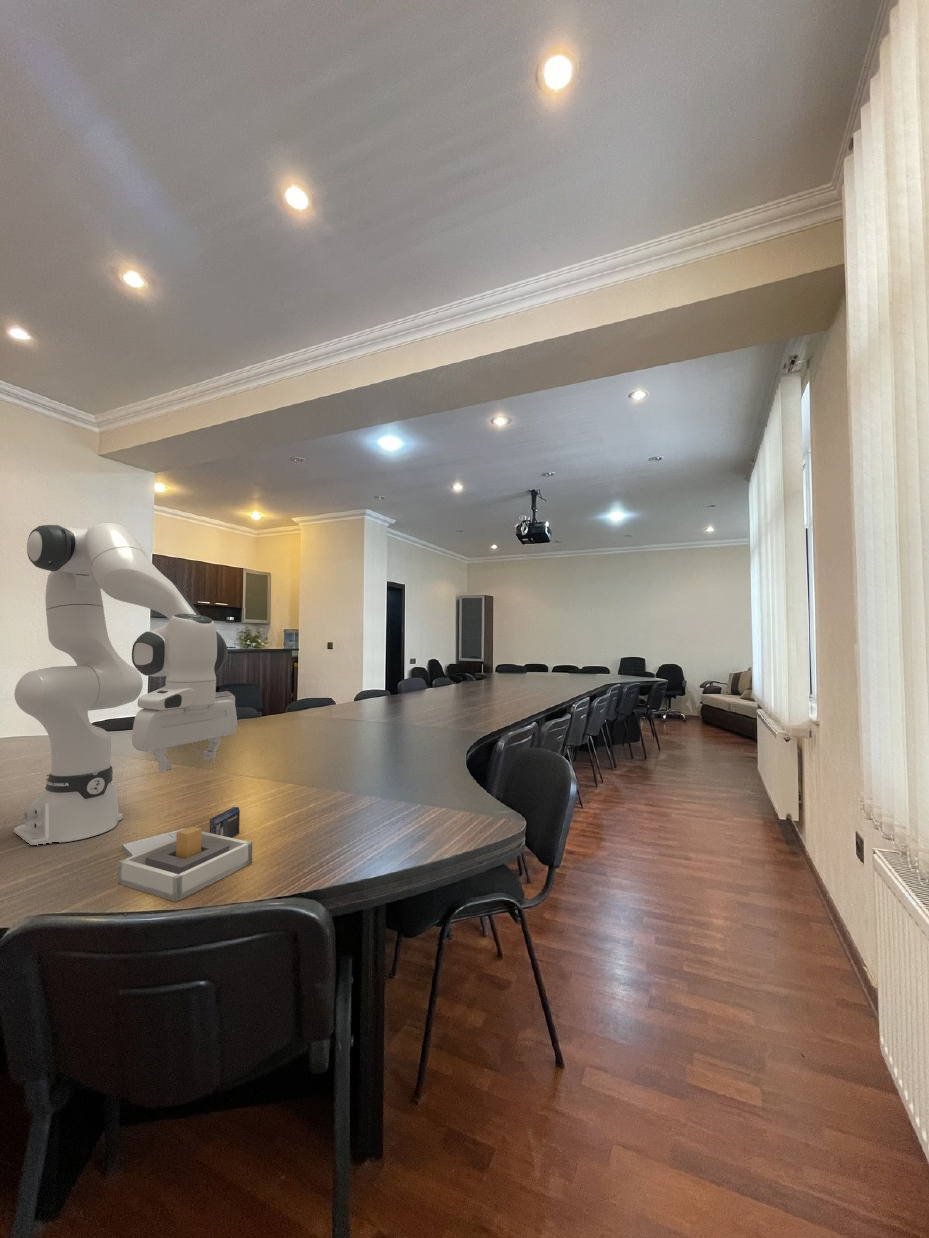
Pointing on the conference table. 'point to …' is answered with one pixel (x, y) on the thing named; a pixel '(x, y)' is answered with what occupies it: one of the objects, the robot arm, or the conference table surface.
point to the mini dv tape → (226, 823)
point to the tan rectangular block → (188, 842)
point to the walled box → (184, 866)
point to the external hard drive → (148, 843)
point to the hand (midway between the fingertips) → (188, 764)
